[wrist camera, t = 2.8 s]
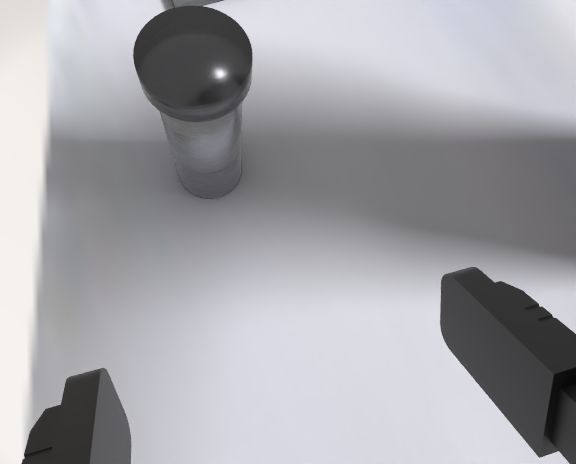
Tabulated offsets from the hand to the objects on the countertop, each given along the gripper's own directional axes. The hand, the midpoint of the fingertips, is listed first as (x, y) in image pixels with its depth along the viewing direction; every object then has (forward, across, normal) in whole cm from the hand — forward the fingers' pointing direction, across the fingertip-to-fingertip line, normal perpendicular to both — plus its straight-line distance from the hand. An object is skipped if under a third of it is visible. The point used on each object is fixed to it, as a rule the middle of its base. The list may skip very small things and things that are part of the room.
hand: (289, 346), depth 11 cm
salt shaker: (+18, 0, -2) cm, 19 cm away
